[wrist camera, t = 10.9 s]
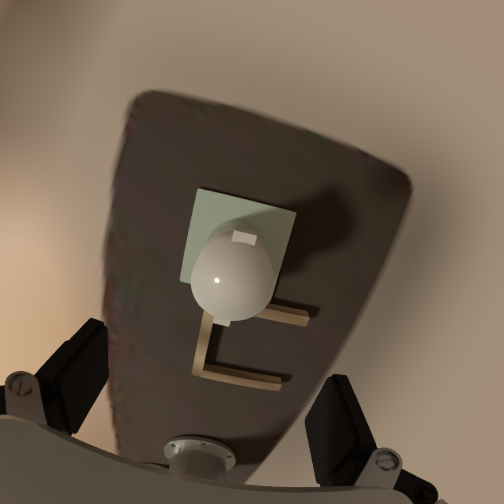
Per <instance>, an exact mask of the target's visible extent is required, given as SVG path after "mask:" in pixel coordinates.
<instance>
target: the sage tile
mask: <svg viewBox="0 0 504 504" xmlns="http://www.w3.org/2000/svg"><path fill="white" fill-rule="evenodd" d="M295 216H296V212H293V211H289V210H286V209H282V208H278V207H274V206H270V205H267V204H263V203H259V202H255V201H251V200H247V199H243V198H239V197H235V196H230V195H226V194H222V193H218V192H213V191H209V190H205V189H200V188H198V191H197V195H196V199H195V204H194V209H193V213H192V218H191V223H190V228H189V233H188V238H187V243H186V248H185V253H184V259H183V264H182V270H181V276H180V281H182V282H186V283H190V284H191V274H192V271H193V268H194V266H195V263H196V261H197V259H198V257H199V255H200V253H201V251H202V249H203V247H204V245H205V243H206V241H207V239H208V237H209V235H210V234H211V232H212V231H213V230H214V229H215V228H216V227H217V226H218V225H220V224H222V223H223V222H226V221H230V220H241V221H245V222H248V223H250V224H252V225H253V226H255V227H256V228H257V229H258V230H259V231H260V233H261V234H262V236H263V238H264V241H265V245H266V248H267V252H268V256H269V259H270V263H271V266H272V270H273V274H274V279H275V284H276V281H277V278H278V274H279V271H280V268H281V265H282V261H283V258H284V254H285V251H286V248H287V244H288V241H289V237H290V234H291V230H292V227H293V223H294V220H295ZM274 288H275V286H274ZM270 301H271V299H270ZM270 301H269V302H270Z"/></svg>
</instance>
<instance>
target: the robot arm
mask: <svg viewBox="0 0 504 504" xmlns="http://www.w3.org/2000/svg"><path fill="white" fill-rule="evenodd" d="M108 377H109V366H108V330H107V327H106V326H104V322H102V321H99V320H96V319H93V318H90V319H89V320H88V321H87V322H86V323H85V324H84V325H83V326H82V327H81V328H80V329H79V330H78V331H77V332H76V333H75V334H74V335H73V336H72V337H71V339H70V340H68V341H65V342H64V343H63V344H62V345H61V346H60V347H59V348H58V350H56V352H55V353H54V354H53V355H52V356H51V357H50V358H49V359H48V360H47V361H46V362H45V364H44V365H43V366H42V367H41V368H40V369H39V370H38V372H37V373H36V374H35V375H32V374H31V373H28V372H25V371H17V372H14V373H12V374H10V375H9V376H8V377H7V379H6V381H5V385H3V386H0V504H448V503H446V502H445V501H444V500H443V499H441V500H438V492H437V489H436V488H435V487H434V485H432V484H431V483H429V482H427V481H425V480H423V479H421V478H419V477H417V476H415V475H413V474H411V473H409V472H407V471H405V470H404V469H402V459H401V457H400V455H399V454H398V453H397V452H395V451H394V450H392V449H389V448H377V446H376V443H375V441H374V438H373V436H372V433H371V431H370V428H369V426H368V423H367V421H366V419H365V417H364V414H363V412H362V410H361V407H360V405H359V403H358V400H357V398H356V395H355V393H354V391H353V389H352V386H351V384H350V382H349V380H348V377H347V376H346V375H340V374H333V375H332V376H331V377H328V378H327V379H326V381H325V383H324V385H323V387H322V389H321V391H320V393H319V394H318V396H317V398H316V400H315V402H314V404H313V405H312V407H311V409H310V411H309V413H308V414H307V416H306V418H305V428H306V433H307V438H308V442H309V448H310V452H311V458H312V463H313V467H314V473H315V478H316V482H317V483H318V484H320V487H271V486H257V485H246V484H237V483H229V482H225V479H226V471H228V470H230V469H231V468H233V466H234V465H235V462H236V456H235V453H234V452H233V451H232V450H231V449H230V448H229V447H228V446H226V445H224V444H223V443H220V442H218V441H215V440H212V439H209V438H204V437H198V436H180V437H176V438H173V439H171V440H169V441H168V442H167V443H166V445H165V448H164V453H165V456H166V457H167V459H168V460H169V461H170V466H169V470H168V471H167V470H163V469H159V468H156V467H152V466H149V465H145V464H142V463H139V462H136V461H133V460H129V459H127V458H124V457H121V456H118V455H115V454H113V453H110V452H107V451H105V450H102V449H99V448H97V447H94V446H92V445H90V444H87V443H85V442H83V441H80V440H78V439H76V438H73V437H71V435H72V434H73V433H74V434H76V433H77V432H78V430H79V429H80V427H81V425H82V423H83V421H84V420H85V418H86V416H87V414H88V412H89V411H90V409H91V407H92V406H93V404H94V402H95V401H96V399H97V397H98V396H99V394H100V392H101V390H102V389H103V387H104V385H105V384H106V382H107V380H108Z"/></svg>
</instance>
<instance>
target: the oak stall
mask: <svg viewBox="0 0 504 504" xmlns="http://www.w3.org/2000/svg"><path fill="white" fill-rule="evenodd" d="M255 317H260V318H265V319H269V320H274V321H279V322H284V323H289V324H295V325H300V326H305V327H306V325H307V323H308V320H309V318H310V317H309V315H308V312H307V311H304V310H299V309H295V308H290V307H285V306H280V305H275V304H271V303H268V304H267V306H266V307H265V308H264V309H263V310H262V311H261V312H259V313H258V314H256V315H255ZM213 318H214V316H212V315H211V314H209V313H207V312H206V311H205V310H204V313H203V318H202V323H201V328H200V333H199V338H198V343H197V349H196V354H195V359H194V364H193V370H192V375H195V376H200V377H204V378H208V379H213V380H217V381H222V382H227V383H232V384H237V385H243V386H248V387H254V388H260V389H267V390H274V391H279V390H280V388H281V386H282V382H281V377H275V376H269V375H263V374H257V373H251V372H246V371H241V370H236V369H231V368H226V367H221V366H217V365H212V364H208V363H204V361H205V356H206V352H207V347H208V343H209V338H210V334H211V329H212V325H213Z"/></svg>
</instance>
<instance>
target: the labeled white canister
mask: <svg viewBox="0 0 504 504" xmlns="http://www.w3.org/2000/svg"><path fill="white" fill-rule="evenodd" d="M274 286H275V279H274V274H273V270H272V266H271V263H270V259H269V256H268V252H267V248H266V245H265V241H264V238H263V236H262V234H261V233H260V231H259V230H258V229H257V228H256V227H255V226H253V225H252V224H250V223H248V222H245V221H241V220H230V221H226V222H223V223H222V224H220V225H218V226H217V227H216V228H215V229H214V230H213V231H212V232H211V234H210V235H209V237H208V239H207V241H206V243H205V245H204V247H203V249H202V251H201V253H200V255H199V257H198V259H197V261H196V263H195V266H194V268H193V271H192V274H191V288H192V292H193V295H194V297H195V299H196V301H197V302H198V304H199V305H200V306H201V307H202V308H203V309H204V310H205V311H206V312H207V313H209V314H211V315H212V316H214V318H213V323H215V324H219V325H224V326H228V327H229V325H230V321H239V320H244V319H248V318H250V317H253V316H255V315H256V314H258V313H259V312H261V311H262V310H263V309H264V308H265V307H266V306H267V304H268V303H269V301H270V299H271V297H272V295H273V292H274Z"/></svg>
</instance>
